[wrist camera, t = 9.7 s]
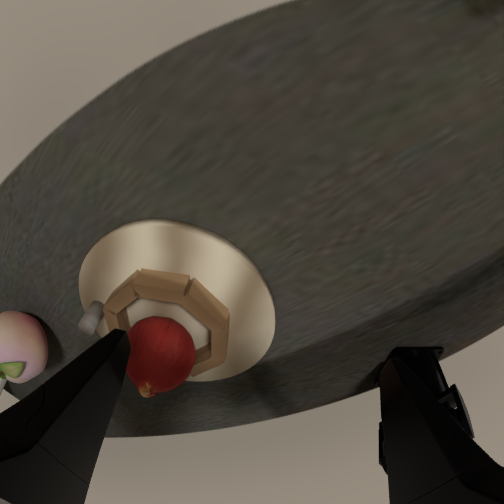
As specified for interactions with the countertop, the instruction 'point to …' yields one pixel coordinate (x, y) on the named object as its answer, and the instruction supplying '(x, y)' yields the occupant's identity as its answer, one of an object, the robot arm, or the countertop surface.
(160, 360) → the onion
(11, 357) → the decorative fruit
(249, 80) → the countertop surface
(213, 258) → the flange plate
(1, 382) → the white cup
